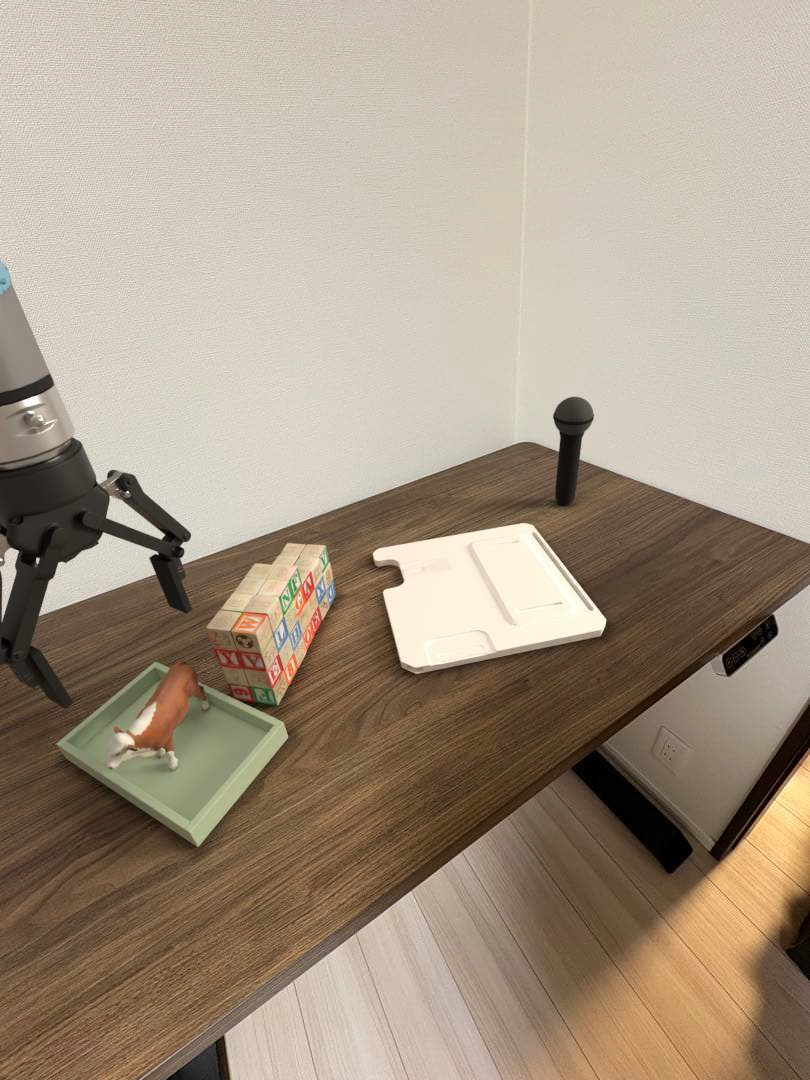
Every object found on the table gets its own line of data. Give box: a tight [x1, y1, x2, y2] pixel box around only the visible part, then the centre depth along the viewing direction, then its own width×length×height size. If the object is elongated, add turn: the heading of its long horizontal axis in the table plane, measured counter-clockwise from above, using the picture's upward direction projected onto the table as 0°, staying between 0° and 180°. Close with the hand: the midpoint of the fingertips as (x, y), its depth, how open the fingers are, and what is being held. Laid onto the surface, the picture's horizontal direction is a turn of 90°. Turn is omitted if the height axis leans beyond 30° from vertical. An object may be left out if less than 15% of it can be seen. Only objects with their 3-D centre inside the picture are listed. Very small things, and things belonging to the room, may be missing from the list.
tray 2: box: [372, 522, 607, 675], centre depth 79 cm, size 28×28×2 cm
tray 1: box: [55, 661, 289, 848], centre depth 60 cm, size 22×14×3 cm, turn 61°
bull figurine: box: [105, 660, 209, 772], centre depth 58 cm, size 4×13×8 cm, turn 166°
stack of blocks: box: [205, 542, 337, 707], centre depth 70 cm, size 21×6×12 cm, turn 167°
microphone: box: [552, 396, 595, 506], centre depth 93 cm, size 7×7×20 cm
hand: (126, 650), depth 52 cm, fingers open, 13 cm apart
